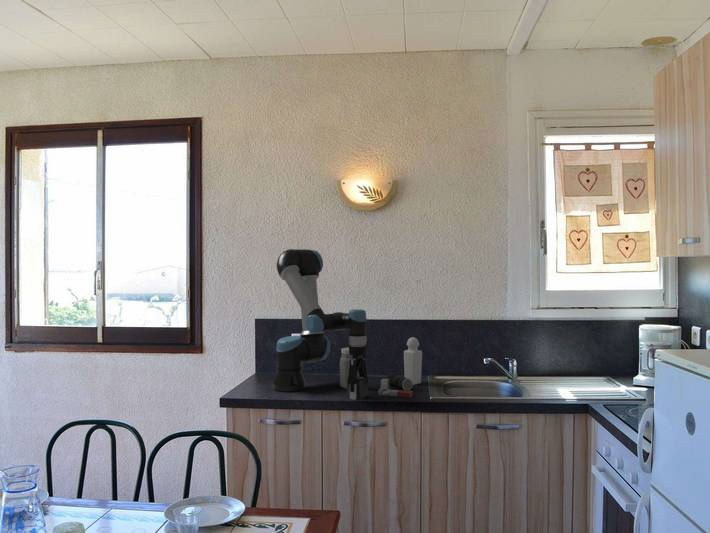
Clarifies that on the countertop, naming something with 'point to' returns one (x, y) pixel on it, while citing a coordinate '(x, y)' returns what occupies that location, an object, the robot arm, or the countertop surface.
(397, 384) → the flashlight
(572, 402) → the countertop surface
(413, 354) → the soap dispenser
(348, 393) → the speaker cube
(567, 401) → the countertop surface
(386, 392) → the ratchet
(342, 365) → the jar
